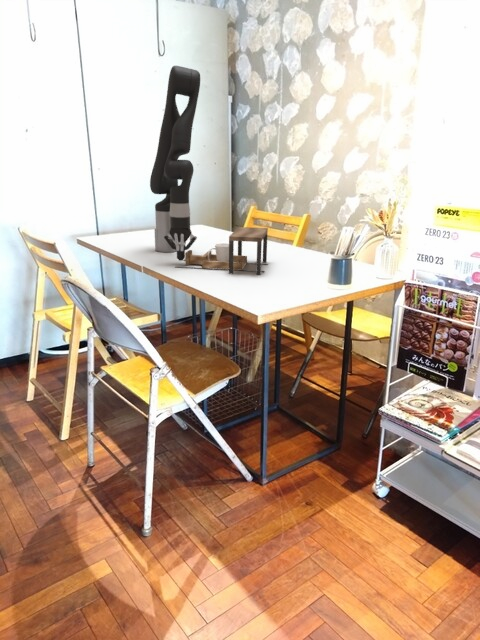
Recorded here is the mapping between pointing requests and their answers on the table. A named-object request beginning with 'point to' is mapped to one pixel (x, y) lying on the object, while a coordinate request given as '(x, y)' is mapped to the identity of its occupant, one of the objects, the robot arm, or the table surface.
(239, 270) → the rails
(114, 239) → the table surface
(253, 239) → the small wooden stool
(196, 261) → the tray
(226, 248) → the cup
